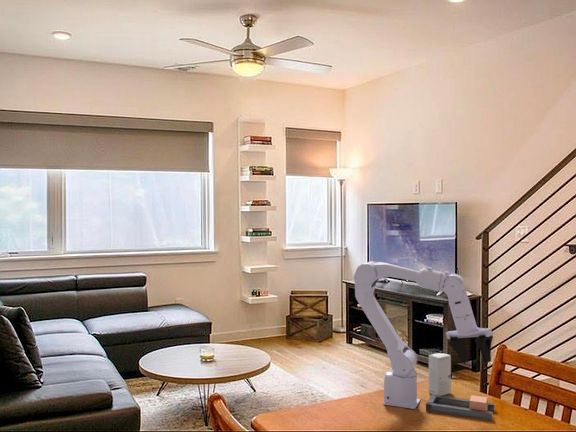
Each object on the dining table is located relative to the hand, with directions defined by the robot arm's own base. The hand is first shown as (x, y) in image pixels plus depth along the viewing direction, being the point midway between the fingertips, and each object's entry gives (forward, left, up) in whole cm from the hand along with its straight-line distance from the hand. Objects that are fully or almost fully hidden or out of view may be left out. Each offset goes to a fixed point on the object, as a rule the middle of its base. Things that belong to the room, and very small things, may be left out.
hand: (476, 362), depth 156 cm
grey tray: (-4, 0, -15) cm, 15 cm away
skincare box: (-12, +13, -15) cm, 23 cm away
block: (+1, 0, -15) cm, 15 cm away
